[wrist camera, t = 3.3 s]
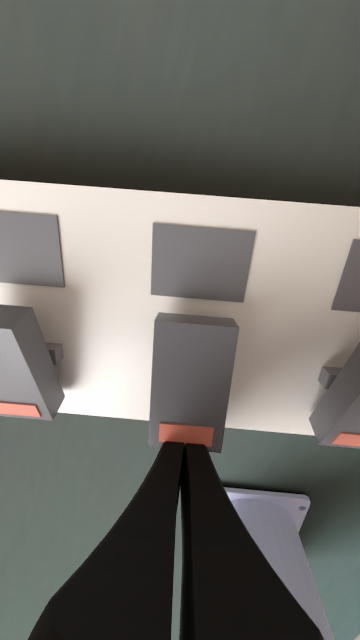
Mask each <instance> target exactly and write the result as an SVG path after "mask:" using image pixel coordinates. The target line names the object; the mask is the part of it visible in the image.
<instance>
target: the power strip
mask: <svg viewBox="0 0 360 640" xmlns="http://www.w3.org/2000/svg"><path fill="white" fill-rule="evenodd" d="M0 304H1V305H13V306H25V307H33V310H34V313H35V315H36V318H37V321H38V323H39V326H40V329H41V332H42V334H43V337H44V340H45V343H46V345H47V348H48V351H49V354H50V356H51V359H52V362H53V365H54V367H55V370H56V373H57V376H58V378H59V381H60V384H61V387H62V389H63V392H64V395H65V398H64V400H63V402H62V404H61V406H60V408H59V410H58V412H61V413H72V414H83V415H94V416H105V417H116V418H127V419H138V420H149V415H150V395H151V376H152V356H153V337H154V320H155V318H156V316H157V314H158V313H159V312H163V313H175V314H187V315H199V316H211V317H223V318H233V319H234V320H235V322H236V323H237V325H238V326H239V334H238V341H237V348H236V355H235V361H234V368H233V375H232V382H231V388H230V395H229V402H228V409H227V415H226V422H225V427H227V428H238V429H249V430H260V431H271V432H282V433H293V434H304V435H315V434H314V431H313V429H312V426H311V424H310V421H309V417H310V416H311V414H312V413H313V411H314V410H315V408H316V407H317V405H318V404H319V402H320V401H321V399H322V398H323V396H324V395H325V393H326V392H327V390H328V389H329V387H330V386H331V384H332V383H333V381H334V380H335V378H336V377H337V375H338V374H339V372H340V371H341V369H342V368H343V366H344V365H345V363H346V362H347V360H348V359H349V357H350V356H351V354H352V353H353V351H354V350H355V348H356V347H357V345H358V344H359V342H360V207H352V206H339V205H326V204H313V203H300V202H287V201H274V200H261V199H248V198H235V197H222V196H208V195H195V194H182V193H169V192H156V191H143V190H130V189H117V188H104V187H91V186H78V185H65V184H52V183H39V182H26V181H13V180H0Z"/></svg>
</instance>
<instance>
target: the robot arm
mask: <svg viewBox="0 0 360 640" xmlns="http://www.w3.org/2000/svg"><path fill="white" fill-rule="evenodd" d="M180 489H181V521H182V584H181V609H180V634H179V640H334V637H333V634H332V631H331V628H330V625H329V622H328V619H327V616H326V613H325V611H324V608H323V605H322V602H321V599H320V596H319V593H318V590H317V587H316V584H315V581H314V578H313V575H312V572H311V569H310V566H309V563H308V560H307V557H306V555H305V552H304V549H303V546H302V543H301V540H300V537H299V534H298V533H299V530H300V528H301V525H302V523H303V521H304V518H305V516H306V513H307V511H308V509H309V506H310V503H311V502H310V500H309V498H308V496H306V495H301V494H291V493H280V492H270V491H259V490H249V489H238V488H227V487H223V485H222V483H221V480H220V478H219V476H218V474H217V472H216V469H215V467H214V465H213V462H212V460H211V457H210V455H209V452H208V449H207V446H205V445H204V444H194V443H186V444H185V449H184V443H183V442H172V441H165V442H163V444H162V447H161V449H160V451H159V453H158V455H157V457H156V459H155V461H154V463H153V465H152V467H151V469H150V471H149V472H148V474H147V476H146V478H145V479H144V481H143V483H142V485H141V486H140V488H139V489H138V491H137V493H136V494H135V496H134V497H133V499H132V500H131V502H130V503H129V505H128V506H127V508H126V509H125V510H124V512H123V513H122V515H121V516H120V517H119V519H118V520H117V522H116V523H115V524H114V526H113V527H112V528H111V530H110V531H109V532H108V533H107V535H106V536H105V537H104V538H103V540H102V541H101V542H100V543H99V545H98V546H97V547H96V548H95V549H94V551H93V552H92V553H91V554H90V555H89V557H88V558H87V559H86V560H85V561H84V563H83V564H82V565H81V566H80V567H79V568H78V569H77V570H76V572H75V573H74V574H73V575H72V576H71V577H70V578H69V579H68V580H67V581H66V582H65V584H64V585H63V586H62V587H61V588H60V589H59V590H58V591H57V592H56V593H55V594H54V596H53V597H52V598H51V599H50V600H49V602H48V604H47V605H46V607H45V609H44V611H43V612H42V614H41V616H40V617H39V619H38V621H37V623H36V625H35V627H34V628H33V630H32V632H31V634H30V636H29V638H28V640H171V622H172V597H173V572H174V549H175V527H176V513H177V505H178V498H179V491H180Z"/></svg>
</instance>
